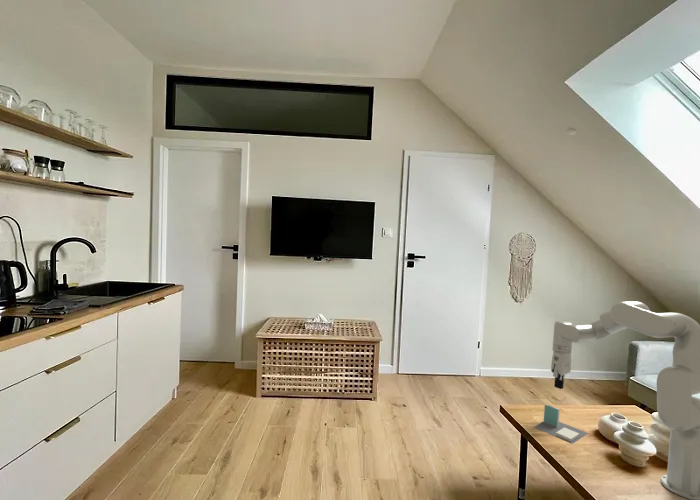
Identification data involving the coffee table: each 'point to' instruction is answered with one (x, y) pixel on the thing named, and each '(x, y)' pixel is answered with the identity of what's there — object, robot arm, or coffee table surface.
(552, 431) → the mat
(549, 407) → the tile
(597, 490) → the coffee table surface
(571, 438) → the tile
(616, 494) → the coffee table surface
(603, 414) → the coffee table surface
